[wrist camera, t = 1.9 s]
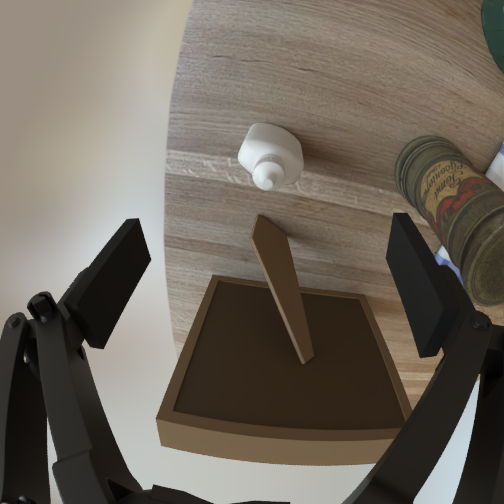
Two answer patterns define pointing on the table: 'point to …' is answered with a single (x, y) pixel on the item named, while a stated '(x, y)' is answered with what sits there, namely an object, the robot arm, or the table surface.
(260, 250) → the photo frame
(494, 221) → the container
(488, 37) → the pot
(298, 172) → the eye dropper bottle
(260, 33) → the table surface
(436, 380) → the robot arm
